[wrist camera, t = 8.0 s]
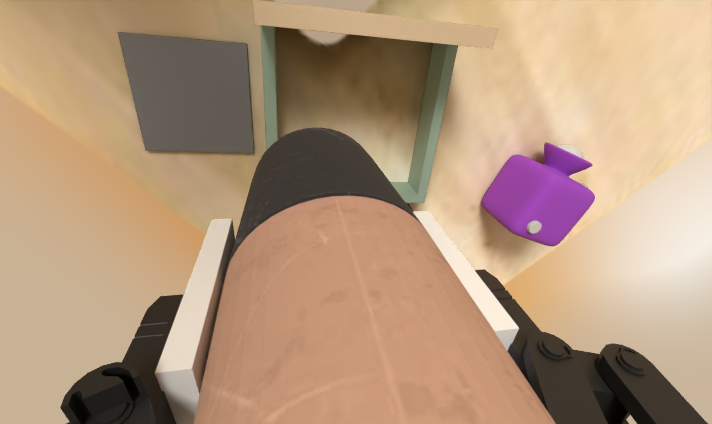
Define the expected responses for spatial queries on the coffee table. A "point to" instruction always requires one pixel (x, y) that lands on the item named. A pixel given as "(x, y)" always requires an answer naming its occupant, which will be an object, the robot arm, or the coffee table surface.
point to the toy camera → (540, 194)
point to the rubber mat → (190, 93)
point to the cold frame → (385, 27)
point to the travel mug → (348, 307)
